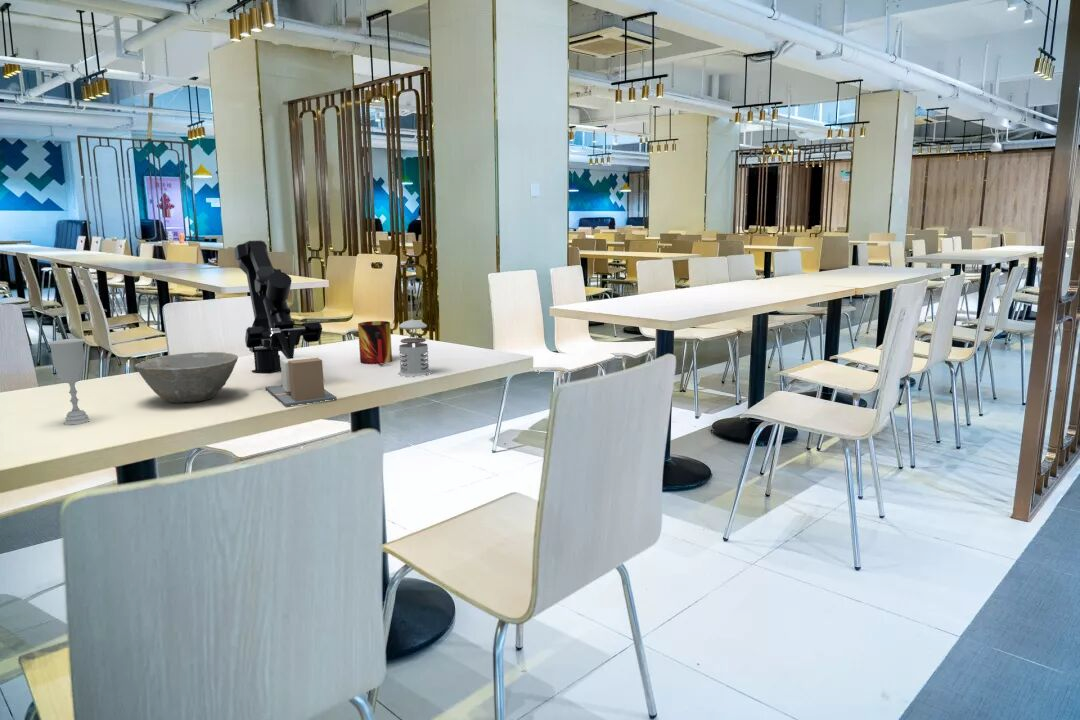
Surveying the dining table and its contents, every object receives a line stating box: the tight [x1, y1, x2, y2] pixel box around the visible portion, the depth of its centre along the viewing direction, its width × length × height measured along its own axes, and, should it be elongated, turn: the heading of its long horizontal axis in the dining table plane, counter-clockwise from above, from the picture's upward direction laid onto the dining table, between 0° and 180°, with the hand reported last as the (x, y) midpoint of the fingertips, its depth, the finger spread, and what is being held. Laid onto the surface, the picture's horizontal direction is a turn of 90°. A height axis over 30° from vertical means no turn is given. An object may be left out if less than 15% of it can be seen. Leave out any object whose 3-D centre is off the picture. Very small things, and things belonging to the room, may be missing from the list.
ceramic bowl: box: [134, 351, 239, 404], centre depth 183 cm, size 22×23×10 cm
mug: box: [357, 320, 393, 365], centre depth 228 cm, size 10×14×12 cm
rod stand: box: [265, 357, 337, 407], centre depth 186 cm, size 22×12×10 cm, turn 32°
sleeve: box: [280, 356, 312, 392], centre depth 185 cm, size 5×7×7 cm
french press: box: [397, 285, 432, 378], centre depth 209 cm, size 10×12×25 cm
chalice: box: [47, 338, 91, 425], centre depth 163 cm, size 7×7×18 cm
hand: (291, 360), depth 190 cm, fingers closed
